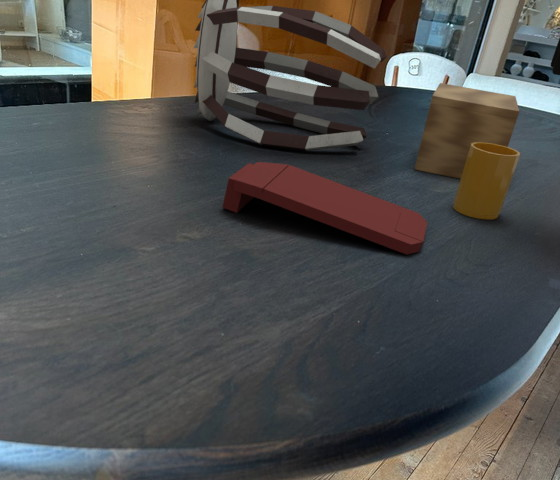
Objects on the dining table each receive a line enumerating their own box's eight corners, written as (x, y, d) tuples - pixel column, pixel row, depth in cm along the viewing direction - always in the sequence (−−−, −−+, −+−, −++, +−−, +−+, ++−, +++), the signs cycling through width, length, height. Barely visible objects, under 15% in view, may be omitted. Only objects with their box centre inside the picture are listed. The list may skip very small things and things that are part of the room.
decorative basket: (214, 103, 126) (371, 147, 121) (156, 127, 104) (344, 182, 99) (229, -32, 111) (407, 11, 106) (165, -36, 90) (385, 18, 85)
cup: (498, 209, 89) (519, 148, 84) (499, 223, 84) (521, 158, 79) (453, 200, 91) (471, 139, 86) (451, 213, 85) (470, 149, 80)
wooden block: (494, 162, 115) (515, 96, 108) (495, 185, 101) (519, 111, 94) (423, 148, 118) (439, 82, 111) (414, 169, 103) (432, 95, 96)
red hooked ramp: (414, 249, 81) (247, 186, 83) (428, 216, 78) (255, 151, 80) (405, 284, 71) (216, 212, 73) (422, 248, 68) (225, 173, 70)
